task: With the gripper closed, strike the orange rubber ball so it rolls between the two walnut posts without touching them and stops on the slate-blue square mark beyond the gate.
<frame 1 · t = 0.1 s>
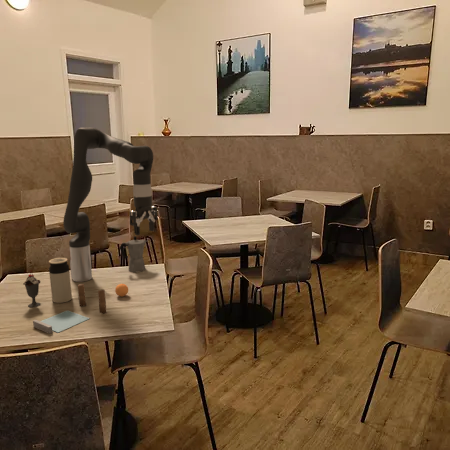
hand: (144, 232, 178), 29 cm above the table, tool pointing down, fingers open, 8 cm apart
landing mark: (63, 321, 162), on the table
post outer: (103, 312, 169), on the table
coffeepot: (135, 270, 221), on the table
sundae: (34, 305, 177), on the table
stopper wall: (42, 329, 155), on the table
ball: (121, 290, 185), on the table
post inner: (82, 305, 176), on the table
travel mug: (62, 300, 183), on the table
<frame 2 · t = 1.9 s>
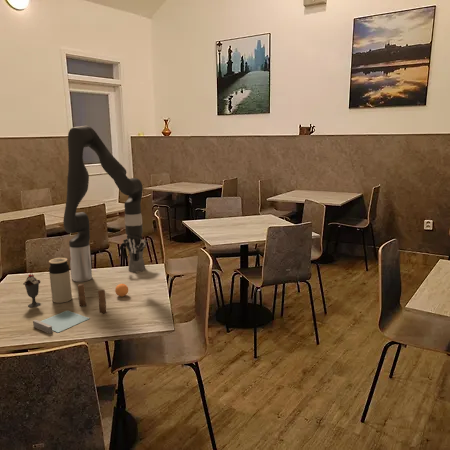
hand: (136, 260, 190), 14 cm above the table, tool pointing down, fingers closed
nothing on the table moved.
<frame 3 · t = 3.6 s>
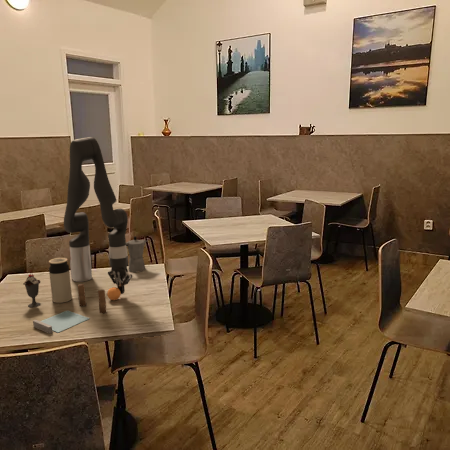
hand: (121, 293, 184), 2 cm above the table, tool pointing down, fingers closed
ball: (113, 293, 181), on the table, touching gripper
everything else where it was.
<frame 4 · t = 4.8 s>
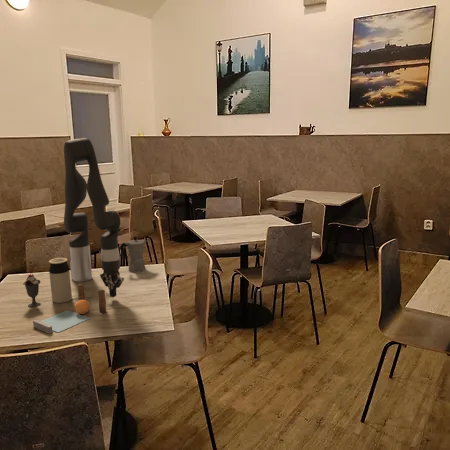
hand: (113, 296, 181), 1 cm above the table, tool pointing down, fingers closed
ball: (82, 306, 168), on the table
everything else where it was.
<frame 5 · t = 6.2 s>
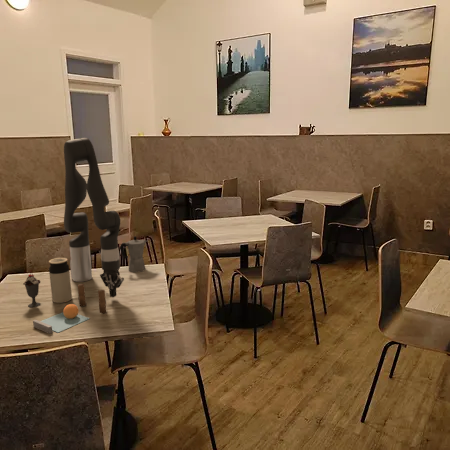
hand: (113, 296, 181), 1 cm above the table, tool pointing down, fingers closed
ball: (70, 311, 164), on the table
everything else where it was.
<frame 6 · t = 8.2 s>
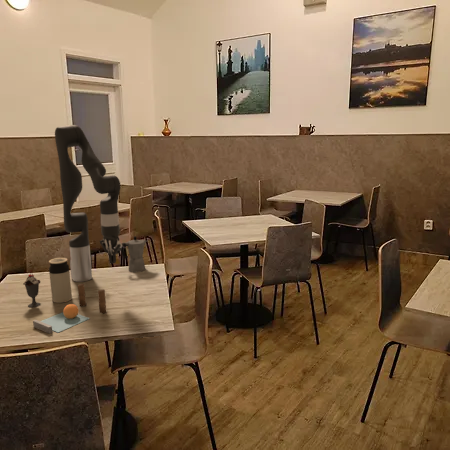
hand: (112, 262, 180), 16 cm above the table, tool pointing down, fingers closed
nothing on the table moved.
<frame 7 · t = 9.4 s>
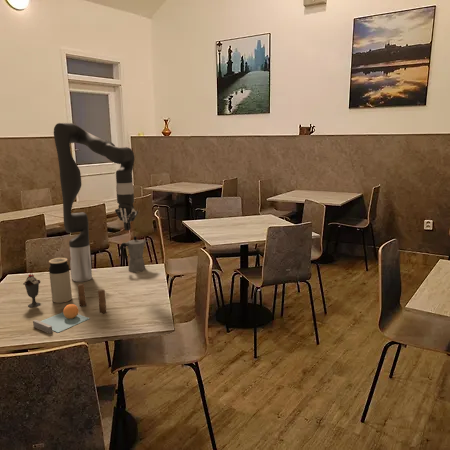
hand: (127, 230, 192), 27 cm above the table, tool pointing down, fingers closed
nothing on the table moved.
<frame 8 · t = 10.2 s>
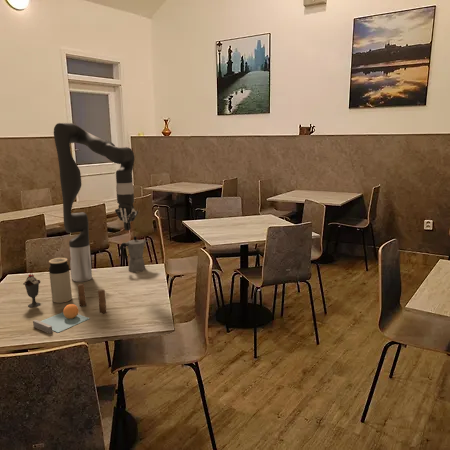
hand: (127, 230, 192), 27 cm above the table, tool pointing down, fingers closed
nothing on the table moved.
at the end: ball 3.6 cm from the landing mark (horizontally); ball never touched post inner; ball never touched post outer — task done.
